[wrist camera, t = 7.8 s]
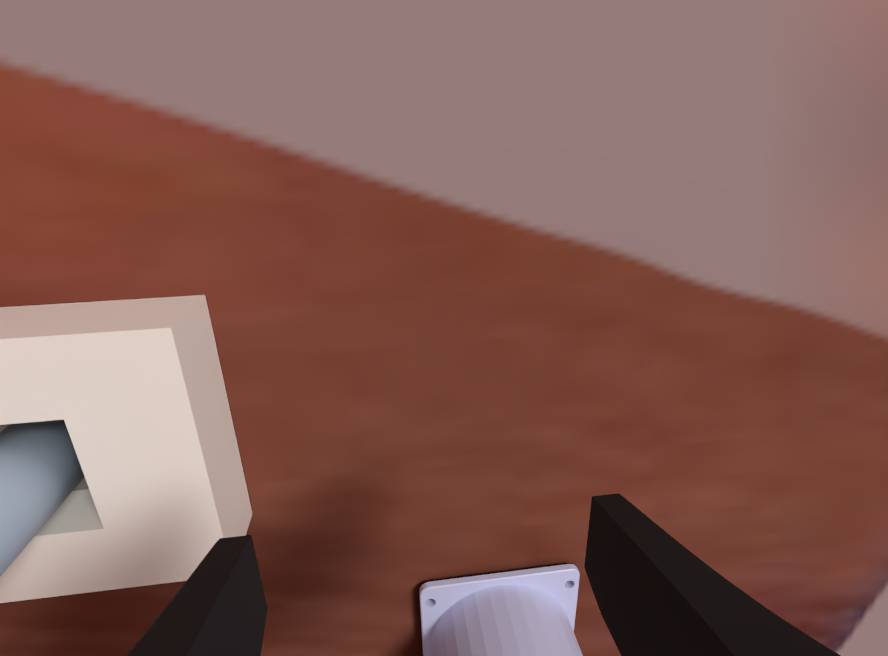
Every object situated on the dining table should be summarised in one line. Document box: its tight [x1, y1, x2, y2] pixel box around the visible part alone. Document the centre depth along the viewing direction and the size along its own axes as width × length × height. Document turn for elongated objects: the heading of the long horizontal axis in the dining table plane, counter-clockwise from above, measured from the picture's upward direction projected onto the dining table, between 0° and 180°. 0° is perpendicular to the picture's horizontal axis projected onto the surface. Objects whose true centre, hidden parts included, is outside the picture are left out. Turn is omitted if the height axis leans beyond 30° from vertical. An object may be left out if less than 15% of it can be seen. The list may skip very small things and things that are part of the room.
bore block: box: [0, 295, 252, 603], centre depth 17 cm, size 10×12×3 cm
